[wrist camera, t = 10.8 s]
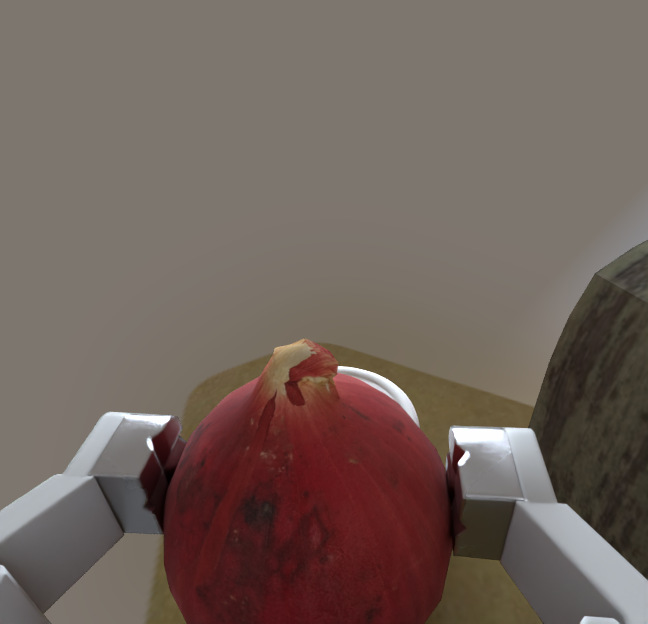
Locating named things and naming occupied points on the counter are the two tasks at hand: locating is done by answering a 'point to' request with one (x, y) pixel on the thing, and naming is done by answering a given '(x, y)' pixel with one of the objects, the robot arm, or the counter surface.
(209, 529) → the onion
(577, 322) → the tabletop clock
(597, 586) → the robot arm
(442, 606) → the counter surface
